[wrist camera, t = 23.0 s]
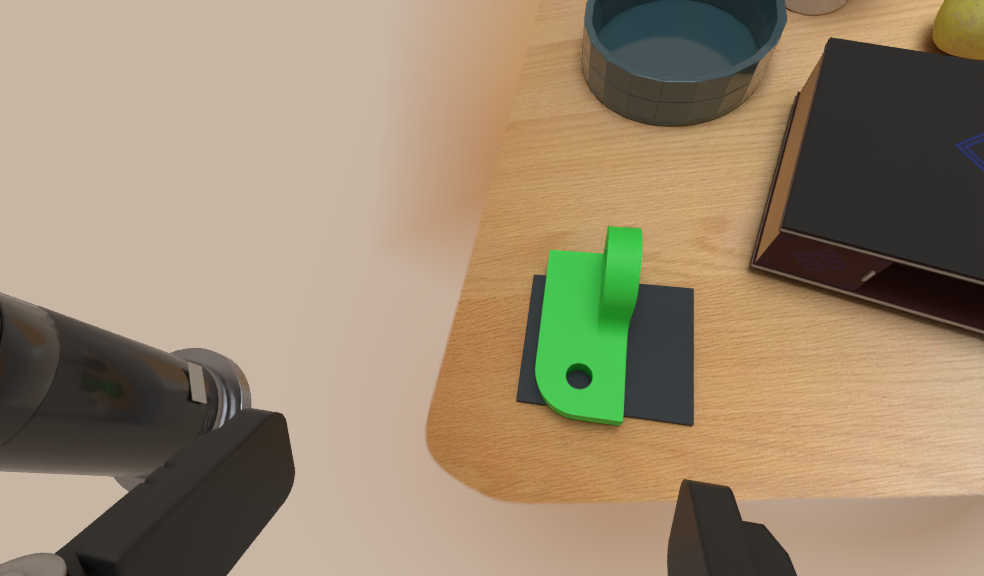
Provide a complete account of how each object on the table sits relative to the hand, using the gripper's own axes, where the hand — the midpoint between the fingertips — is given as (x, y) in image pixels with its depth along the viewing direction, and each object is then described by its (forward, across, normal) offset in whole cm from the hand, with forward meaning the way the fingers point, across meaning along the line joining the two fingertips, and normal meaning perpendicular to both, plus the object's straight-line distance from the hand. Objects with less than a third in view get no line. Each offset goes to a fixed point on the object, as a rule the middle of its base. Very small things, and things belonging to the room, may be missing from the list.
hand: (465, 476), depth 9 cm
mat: (+25, -4, +10) cm, 27 cm away
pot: (+46, -8, -11) cm, 47 cm away
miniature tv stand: (+34, -28, +1) cm, 44 cm away
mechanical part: (+25, -2, +10) cm, 27 cm away
